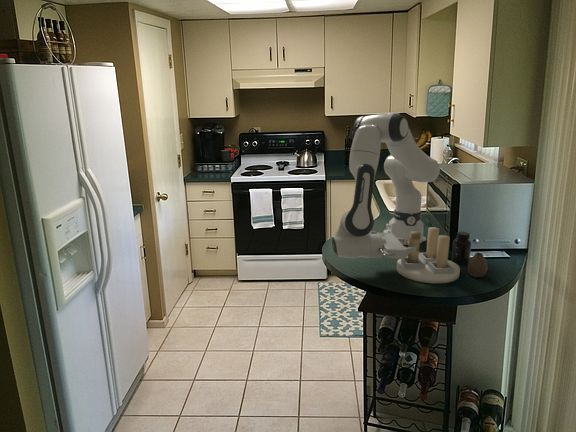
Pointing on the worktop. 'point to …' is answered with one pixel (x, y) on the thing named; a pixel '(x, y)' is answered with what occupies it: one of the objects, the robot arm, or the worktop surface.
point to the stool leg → (414, 242)
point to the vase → (477, 265)
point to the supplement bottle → (461, 248)
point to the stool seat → (431, 262)
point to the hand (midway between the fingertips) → (412, 245)
